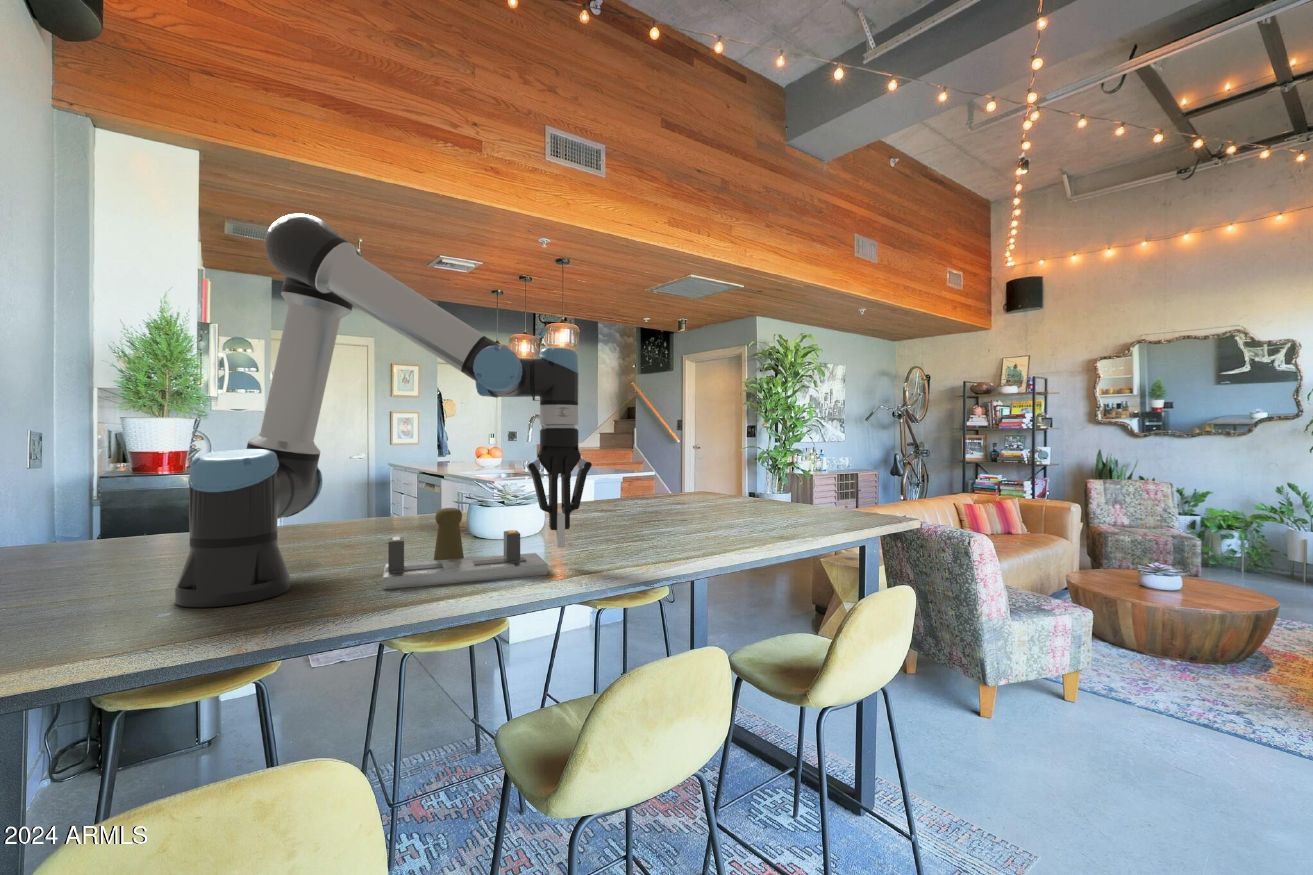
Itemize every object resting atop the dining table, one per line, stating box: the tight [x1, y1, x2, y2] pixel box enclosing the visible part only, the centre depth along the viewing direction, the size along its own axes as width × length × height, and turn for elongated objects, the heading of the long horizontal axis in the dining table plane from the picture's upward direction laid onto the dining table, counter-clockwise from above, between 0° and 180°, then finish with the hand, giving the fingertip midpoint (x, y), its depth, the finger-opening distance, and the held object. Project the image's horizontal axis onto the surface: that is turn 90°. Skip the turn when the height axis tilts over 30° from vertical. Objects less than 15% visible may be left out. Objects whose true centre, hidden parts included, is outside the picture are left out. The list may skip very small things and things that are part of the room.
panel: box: [382, 552, 549, 590], centre depth 110 cm, size 28×11×2 cm, turn 113°
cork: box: [433, 507, 465, 561], centre depth 121 cm, size 6×6×11 cm
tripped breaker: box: [503, 529, 521, 561], centre depth 113 cm, size 2×4×5 cm, turn 23°
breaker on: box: [387, 536, 405, 571], centre depth 105 cm, size 2×4×5 cm, turn 23°
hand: (559, 546), depth 117 cm, fingers closed
